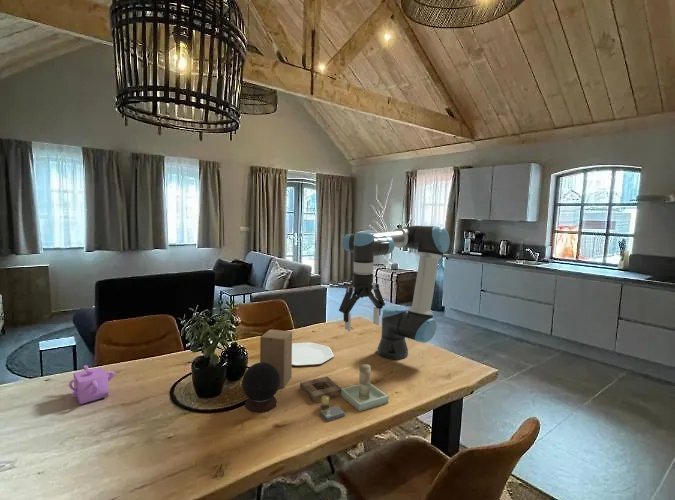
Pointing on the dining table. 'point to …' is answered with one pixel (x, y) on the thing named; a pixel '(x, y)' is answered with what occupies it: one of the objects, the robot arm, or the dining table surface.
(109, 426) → the dining table surface
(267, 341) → the wooden block
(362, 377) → the dowel
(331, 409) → the steel plate
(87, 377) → the teapot
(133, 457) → the dining table surface
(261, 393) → the black ball on stand
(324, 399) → the cylinder
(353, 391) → the tray
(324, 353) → the plate
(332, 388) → the socket block
